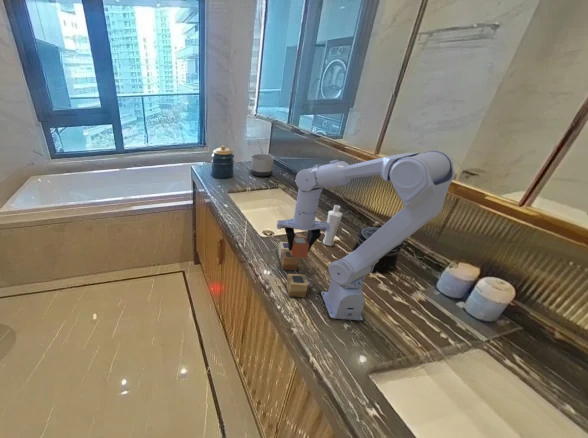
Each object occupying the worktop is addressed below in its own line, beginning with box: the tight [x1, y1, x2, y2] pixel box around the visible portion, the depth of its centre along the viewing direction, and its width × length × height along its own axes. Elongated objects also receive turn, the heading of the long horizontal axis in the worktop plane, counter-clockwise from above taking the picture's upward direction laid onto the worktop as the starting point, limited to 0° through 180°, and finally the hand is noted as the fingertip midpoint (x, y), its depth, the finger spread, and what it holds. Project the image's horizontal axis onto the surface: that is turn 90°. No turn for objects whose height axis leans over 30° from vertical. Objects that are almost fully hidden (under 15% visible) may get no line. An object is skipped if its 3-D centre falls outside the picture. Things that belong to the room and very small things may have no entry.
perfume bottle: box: [322, 204, 344, 247], centre depth 100 cm, size 5×4×15 cm
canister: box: [211, 145, 235, 179], centre depth 165 cm, size 13×13×18 cm
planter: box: [249, 153, 275, 178], centre depth 167 cm, size 13×13×10 cm
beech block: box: [279, 250, 300, 271], centre depth 91 cm, size 4×4×5 cm
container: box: [352, 226, 404, 272], centre depth 92 cm, size 13×13×10 cm
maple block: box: [285, 273, 309, 298], centre depth 81 cm, size 4×4×5 cm
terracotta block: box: [290, 236, 309, 259], centre depth 86 cm, size 4×4×5 cm
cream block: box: [277, 241, 289, 261], centre depth 96 cm, size 4×4×5 cm
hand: (298, 249), depth 86 cm, fingers closed on terracotta block, 4 cm apart
